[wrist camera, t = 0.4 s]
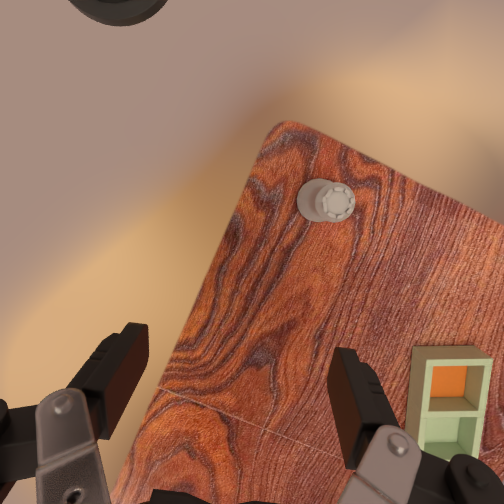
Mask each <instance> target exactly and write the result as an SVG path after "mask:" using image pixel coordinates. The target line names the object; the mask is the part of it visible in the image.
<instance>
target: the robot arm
mask: <svg viewBox="0 0 504 504" xmlns="http://www.w3.org/2000/svg"><path fill="white" fill-rule="evenodd" d="M97 1H101V2H105V3H122V2H126V1H129V0H97ZM148 338H149V336H148V325H147V324H139V323H131V322H129V323H128V324H127V325H126V326H125V328H124V329H123V331H122V332H121V333H120V334H118V333H113V334H111V335H110V336H108V337H107V338H105V339H104V340H103V341H102V342H101V343H100V345H99V346H98V347H97V348H96V350H95V352H93V353H92V355H91V356H90V358H89V359H88V360H87V361H86V362H85V364H84V365H83V366H82V368H81V369H80V370H79V372H78V373H77V374H76V375H75V377H74V378H73V379H72V381H71V382H70V383H69V384H68V386H67V387H66V388H65V389H61V390H58V391H55V392H53V393H51V394H49V395H48V396H46V397H45V398H44V399H43V400H42V401H41V402H40V403H39V404H38V405H33V406H27V407H20V408H13V409H8V406H7V403H6V402H5V401H4V400H3V399H0V504H2V502H3V500H4V499H5V498H6V496H7V495H8V493H9V491H10V490H11V488H12V487H13V486H14V484H15V482H16V481H17V480H22V479H26V478H31V477H36V492H37V493H36V494H37V504H111V500H110V496H109V491H108V488H107V483H106V479H105V474H104V470H103V466H102V462H101V457H100V452H99V448H98V445H97V440H98V439H104V440H109V439H110V437H111V435H112V433H113V432H114V429H115V428H116V426H117V424H118V421H119V419H120V418H121V416H122V414H123V412H124V410H125V408H126V406H127V404H128V402H129V400H130V398H131V396H132V394H133V392H134V390H135V388H136V386H137V384H138V382H139V380H140V378H141V376H142V374H143V372H144V370H145V368H146V366H147V362H148V357H149V339H148ZM380 384H381V383H380V381H379V379H378V377H377V374H376V372H375V371H374V370H373V369H372V368H371V367H370V366H369V365H368V364H367V363H362V362H360V361H359V358H358V356H357V353H356V351H355V349H350V348H342V347H336V348H335V350H334V353H333V357H332V361H331V364H330V368H329V372H328V377H327V388H328V393H329V398H330V402H331V406H332V411H333V415H334V420H335V424H336V428H337V433H338V437H339V441H340V446H341V450H342V454H343V459H344V463H345V467H346V469H350V470H356V471H355V472H353V474H352V475H351V477H350V479H349V481H348V483H347V485H346V487H345V489H344V491H343V492H342V494H341V496H340V498H339V500H338V502H337V504H504V485H503V484H502V482H501V480H500V479H499V477H498V476H497V475H496V474H495V472H494V471H493V470H492V469H491V468H489V467H488V466H487V465H486V464H485V463H483V462H482V461H480V460H478V459H477V458H475V457H473V456H470V455H467V454H456V455H454V456H453V457H452V458H451V460H450V462H449V461H447V460H444V459H442V458H439V457H437V456H434V455H432V454H429V453H427V452H425V451H423V450H421V449H420V447H419V445H418V444H417V442H416V441H415V439H414V438H413V437H412V436H411V435H410V434H408V433H407V432H406V431H404V430H402V429H401V428H400V426H399V424H398V422H397V419H396V417H395V415H394V413H393V410H392V408H391V406H390V404H389V401H388V399H387V397H386V395H385V394H384V393H385V392H384V390H383V388H382V386H381V385H380ZM140 504H210V503H208V502H206V501H204V500H201V499H199V498H197V497H195V496H192V495H190V494H188V493H184V492H175V491H167V490H158V489H153V492H152V495H151V498H150V501H147V502H143V503H140ZM240 504H277V503H269V502H260V501H250V502H245V503H240Z"/></svg>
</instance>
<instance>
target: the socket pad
mask: <svg viewBox="0 0 504 504" xmlns="http://www.w3.org/2000/svg"><path fill="white" fill-rule="evenodd" d="M492 363H493V358H491V357H490V356H488V355H487V354H486V353H484V352H483V351H481V350H480V349H478V348H477V347H475V346H474V345H470V346H413V348H412V359H411V369H410V380H409V391H408V401H407V412H406V422H405V431H406V432H407V433H408V434H410V435H411V436H412V437H413V438H414V439H415V441H416V442H417V444H418V445H419V447H420V449H421V450H423V451H425V452H427V453H429V454H432V455H434V456H437V457H439V458H442V459H444V460H447V461H449V462H450V460H451V458H452V457H453V456H454V455H456V454H467V455H470V456H473V457H475V458H477V459H478V455H479V448H480V442H481V435H482V428H483V422H484V415H485V409H486V402H487V396H488V389H489V382H490V376H491V369H492Z"/></svg>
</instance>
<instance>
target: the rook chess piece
mask: <svg viewBox="0 0 504 504" xmlns="http://www.w3.org/2000/svg"><path fill="white" fill-rule="evenodd" d="M297 205H298V209H299V211H300V213H301V214H302V216H304V217H305V218H306V219H308V220H310V221H314V222H323V221H329V222H333V223H335V222H341V221H343V220H345V219H346V218H348V217H349V216H350V214H351V213H352V212H353V210H354V206H355V195H354V194H353V192H352V190H351V189H350V188H349V187H348V186H347V185H345V184H342V183H338V182H336V183H333V182H331V181H330V180H326V179H321V178H318V179H313V180H310V181H309V182H307V183H305V184H304V185H303V186H302V188H301V189H300V191H299V193H298V197H297Z"/></svg>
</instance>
